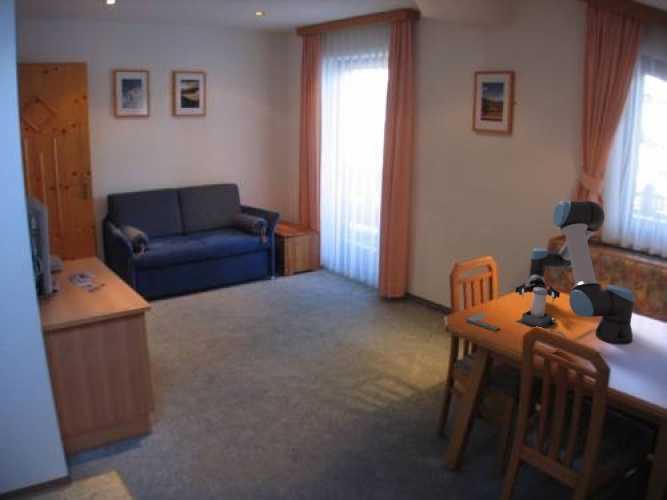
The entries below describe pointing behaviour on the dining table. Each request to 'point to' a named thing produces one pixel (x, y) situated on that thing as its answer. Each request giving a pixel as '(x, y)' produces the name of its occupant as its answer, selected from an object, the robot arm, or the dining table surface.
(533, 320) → the housing
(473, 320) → the mat
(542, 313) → the cylinder
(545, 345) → the lidded jar
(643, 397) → the dining table surface
